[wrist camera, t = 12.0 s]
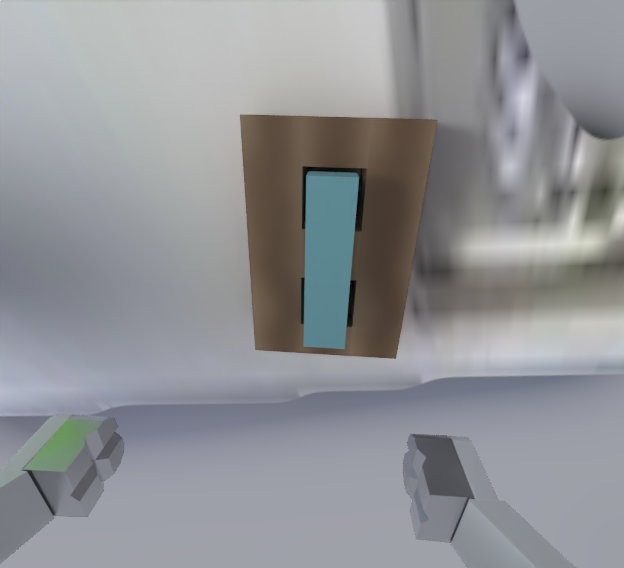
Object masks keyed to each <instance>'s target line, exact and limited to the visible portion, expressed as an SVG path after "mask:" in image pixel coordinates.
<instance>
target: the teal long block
mask: <svg viewBox="0 0 624 568" xmlns="http://www.w3.org/2000/svg"><path fill="white" fill-rule="evenodd" d="M358 185H359V176H358V174H357V173H349V172H319V171H309V172H308V173H307V175H306V223H305V286H304V347H319V348H336V349H345V338H346V326H347V314H348V303H349V291H350V279H351V267H352V256H353V244H354V232H355V220H356V209H357V197H358Z"/></svg>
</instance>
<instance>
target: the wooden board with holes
mask: <svg viewBox="0 0 624 568" xmlns="http://www.w3.org/2000/svg"><path fill="white" fill-rule="evenodd" d="M240 121H241V137H242V152H243V167H244V183H245V198H246V213H247V228H248V244H249V259H250V274H251V290H252V305H253V320H254V336H255V350H264V351H281V352H297V353H313V354H329V355H345V356H362V357H378V358H394V359H396V355H397V350H398V344H399V338H400V332H401V327H402V321H403V315H404V309H405V304H406V298H407V292H408V286H409V281H410V275H411V269H412V264H413V258H414V252H415V246H416V241H417V235H418V229H419V223H420V218H421V212H422V206H423V201H424V195H425V189H426V183H427V178H428V172H429V166H430V160H431V155H432V149H433V143H434V137H435V132H436V126H437V120H428V119H390V118H351V117H313V116H274V115H240ZM307 167H336V168H362V176H361V187H360V199H359V210H358V217H356V220H355V232H354V244H353V256H352V267H351V279H350V280H352V290H351V301H350V303H348V314H347V326H346V338H345V349H336V348H319V347H304V286H305V223H306V175H307Z"/></svg>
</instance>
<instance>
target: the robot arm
mask: <svg viewBox="0 0 624 568" xmlns="http://www.w3.org/2000/svg"><path fill="white" fill-rule="evenodd" d="M117 427H118V425H117V422H116V420H115V418H110V417H98V416H87V415H76V414H61V413H58V414H56V415H54V416H52V417H50V418H49V419H48V420H47V421H46V422H45V423H44V424H43V425H42V426H41V428H40V429H39V430H38V431H37V432H36V433H35V434H34V435H33V436H32V437H31V438H30V439H29V440H28V441H27V442H26V443H25V444H24V445H23V446H22V448H20V450H19V451H18V452H17V453H16V454H15V455H14V456H13V457H12V458H11V459H10V460H9V461H8V462H7V463H6V464H5V465H4V466H3V468H2V469H0V564H1V563H2V562H3V561H4V560H6V559H7V558H8V557H9V556H10V555H11V554H13V553H14V552H15V551H16V550H17V549H19V547H21V546H22V545H23V544H24V543H26V542H27V541H28V540H29V539H30V538H31V537H33V536H34V535H35V534H36V533H37V532H39V531H40V530H41V529H42V528H43V527H44V526H45V525H47V524H48V523H49V522H50V521H52V520H53V519H54V516H67V517H68V516H69V517H88V516H89V514H90V512H91V511H92V509H93V507H94V506H95V504H96V502H97V501H98V499H99V498H100V496H101V494H102V493H103V491H104V483H103V482H104V481H105V480H106V479H108V478H109V477H110V476H112V475H113V474H114V473H115V471H116V470H117V468H118V466H119V465H120V463H121V459H122V456H123V453H124V442H123V439H122V437H121V436H120V435H119V434H117V433H116V432H115V430H116V429H117ZM407 444H408V449H409V451H408V452H407V453H405V455H404V460H403V478H404V485H405V489H406V493H407V494H408V495H409V496H410V497H411V498H412V503H411V507H410V513H411V518H412V523H413V527H414V532H415V536H416V539H418V540H429V541H439V542H449V543H451V546H452V547H453V549H454V550H455V551H456V553H457V554H458V556H459V557H460V558H461V560H462V561H463V563H464V564H465V565H466V567H467V568H576V567H575V566H574V565H573V564H571V563H570V562H569V561H568V560H567V559H566V558H565V557H564V556H563V555H562V554H561V553H560V552H558V550H557V549H555V548H554V547H553V546H552V545H551V544H550V543H549V542H548V541H547V540H546V539H545V538H544V537H543V536H542V535H541V534H539V533H538V532H537V531H536V530H535V529H534V528H533V527H532V526H531V525H530V524H529V523H528V522H527V521H526V520H525V519H524V518H522V517H521V516H520V515H519V514H518V513H517V512H516V511H515V510H514V509H513V508H512V507H511V506H510V505H508V503H507V502H505V501H499V500H498V498H497V495H496V493H495V491H494V489H493V487H492V485H491V482H490V480H489V478H488V476H487V474H486V471H485V469H484V467H483V465H482V463H481V461H480V458H479V456H478V454H477V452H476V450H475V447H474V446H473V443H472V441H471V440H470V439H469V438H468V437H456V436H447V435H446V436H445V435H424V434H411V435H410V436H409V438H408V442H407Z"/></svg>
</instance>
